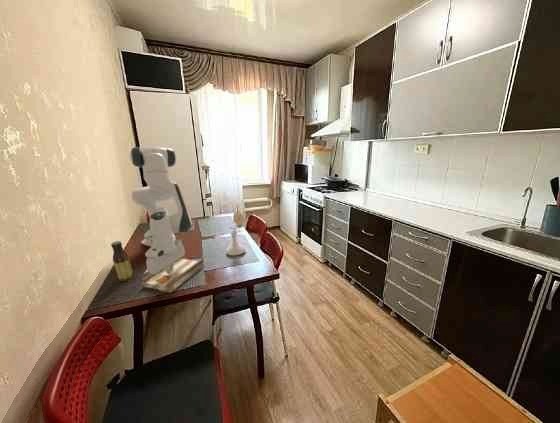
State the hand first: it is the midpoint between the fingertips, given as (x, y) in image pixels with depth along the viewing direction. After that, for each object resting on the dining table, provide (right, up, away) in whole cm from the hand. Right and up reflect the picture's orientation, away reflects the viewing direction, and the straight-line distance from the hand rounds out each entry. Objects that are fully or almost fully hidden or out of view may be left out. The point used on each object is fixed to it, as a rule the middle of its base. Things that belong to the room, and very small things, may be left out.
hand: (170, 272), depth 113 cm
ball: (-2, -3, -4) cm, 5 cm away
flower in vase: (+28, +5, +26) cm, 39 cm away
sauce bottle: (-24, -4, +3) cm, 24 cm away
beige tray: (+1, -3, +4) cm, 5 cm away
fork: (-18, 0, +17) cm, 24 cm away
